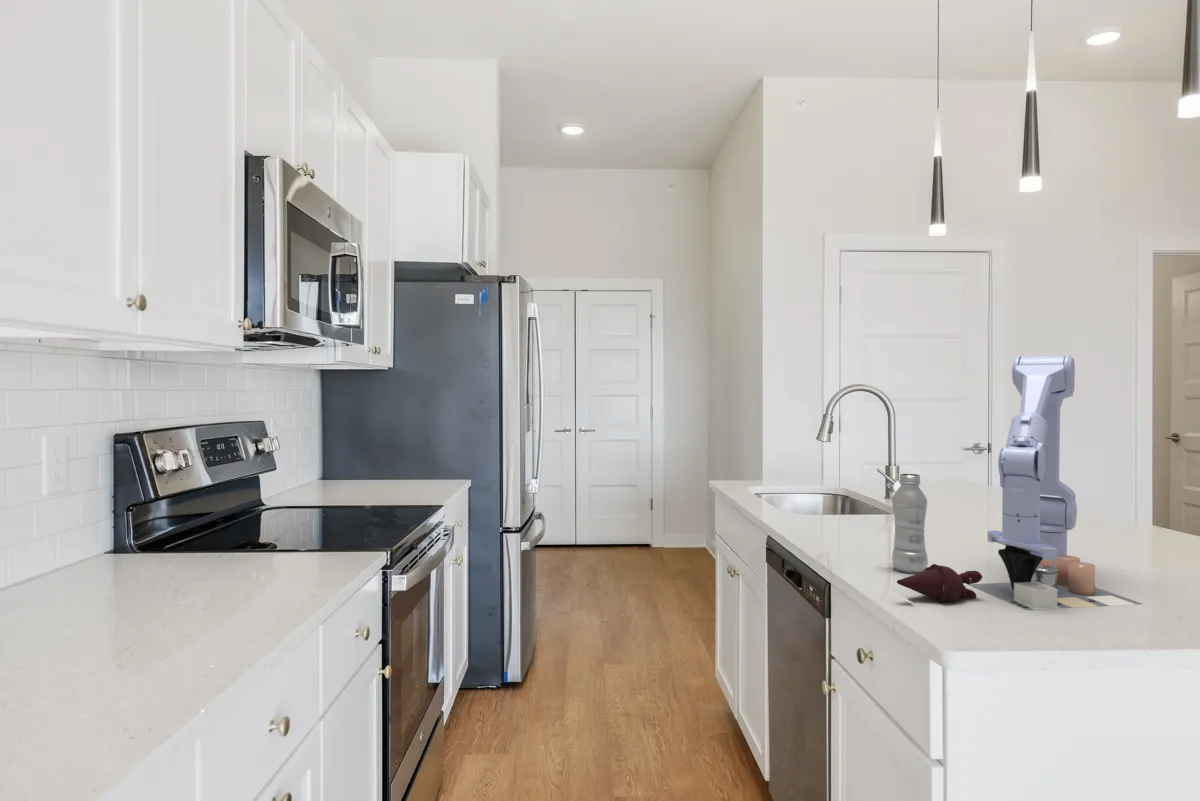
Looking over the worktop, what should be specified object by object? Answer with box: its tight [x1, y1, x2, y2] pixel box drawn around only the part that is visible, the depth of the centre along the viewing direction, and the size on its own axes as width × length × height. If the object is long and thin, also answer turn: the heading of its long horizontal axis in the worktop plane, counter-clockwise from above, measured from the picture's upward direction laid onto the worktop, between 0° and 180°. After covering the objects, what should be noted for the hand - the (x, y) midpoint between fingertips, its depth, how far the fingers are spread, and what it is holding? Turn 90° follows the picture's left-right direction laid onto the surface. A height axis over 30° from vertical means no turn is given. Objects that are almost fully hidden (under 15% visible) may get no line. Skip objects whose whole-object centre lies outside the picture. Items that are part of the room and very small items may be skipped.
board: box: [967, 581, 1144, 611], centre depth 126 cm, size 15×22×1 cm
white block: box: [1014, 582, 1057, 608], centre depth 120 cm, size 4×4×3 cm
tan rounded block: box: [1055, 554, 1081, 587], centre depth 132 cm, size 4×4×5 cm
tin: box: [1031, 565, 1058, 589], centre depth 127 cm, size 5×5×4 cm
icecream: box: [896, 563, 983, 604], centre depth 123 cm, size 7×7×15 cm
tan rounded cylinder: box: [1068, 561, 1096, 595], centre depth 126 cm, size 4×4×5 cm
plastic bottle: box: [891, 473, 929, 575], centre depth 142 cm, size 6×7×20 cm
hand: (1020, 590), depth 124 cm, fingers closed
